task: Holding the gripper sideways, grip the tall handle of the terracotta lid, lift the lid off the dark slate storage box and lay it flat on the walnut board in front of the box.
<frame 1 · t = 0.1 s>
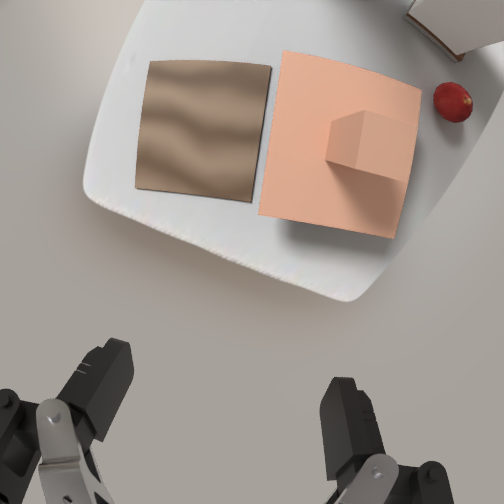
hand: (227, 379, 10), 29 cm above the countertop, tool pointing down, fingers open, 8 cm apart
board: (197, 125, 33), on the countertop
lid: (341, 144, 27), point 6 cm above the countertop, touching storage box
white tall block: (439, 21, 24), on the countertop
pomegranate: (438, 104, 29), on the countertop
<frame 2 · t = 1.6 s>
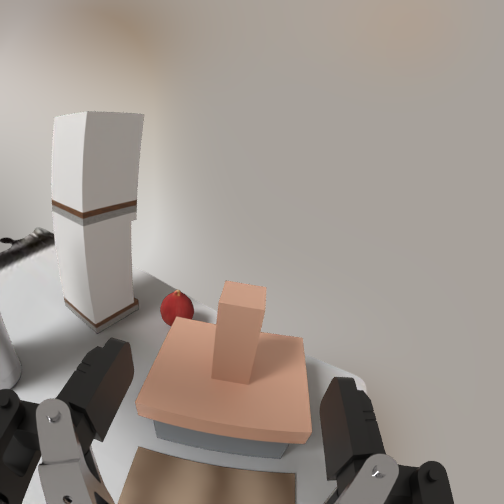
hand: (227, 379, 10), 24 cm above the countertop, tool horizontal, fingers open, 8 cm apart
storage box: (225, 411, 33), on the countertop
lid: (229, 382, 30), point 6 cm above the countertop, touching storage box
white tall block: (101, 308, 48), on the countertop
pomegranate: (177, 328, 48), on the countertop
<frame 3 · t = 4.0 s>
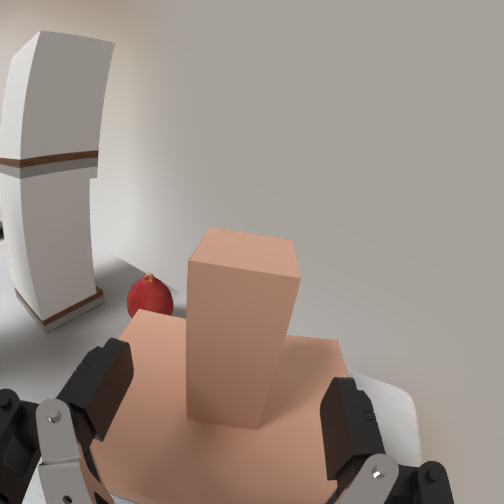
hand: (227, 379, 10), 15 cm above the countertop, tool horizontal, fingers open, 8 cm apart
lid: (222, 420, 16), point 6 cm above the countertop, touching storage box
white tall block: (57, 301, 34), on the countertop
pomegranate: (151, 328, 34), on the countertop
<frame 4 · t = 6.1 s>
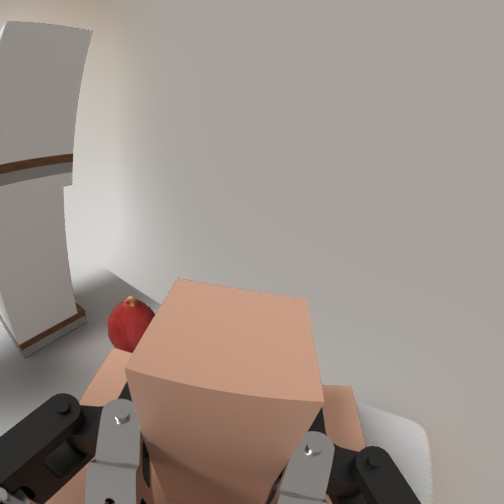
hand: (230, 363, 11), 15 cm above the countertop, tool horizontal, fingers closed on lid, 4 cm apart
lid: (211, 487, 11), point 6 cm above the countertop, touching gripper, storage box
white tall block: (38, 320, 29), on the countertop
pomegranate: (137, 354, 29), on the countertop
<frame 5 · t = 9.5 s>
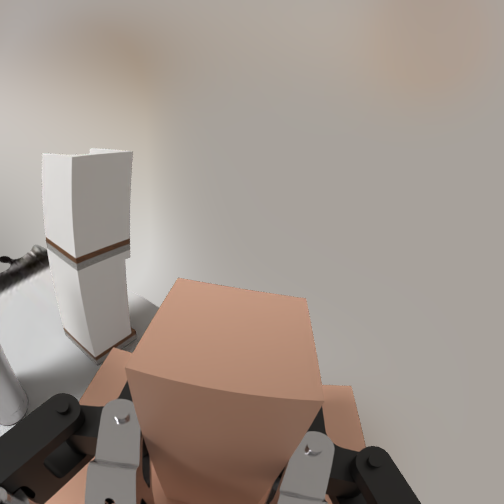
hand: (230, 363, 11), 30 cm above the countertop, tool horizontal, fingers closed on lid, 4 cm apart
lid: (212, 487, 11), point 22 cm above the countertop, touching gripper
white tall block: (100, 337, 48), on the countertop
when the fingers open (10 cm above the countertop, at t = 12.9 s): lid drops 1 cm, resting on board.
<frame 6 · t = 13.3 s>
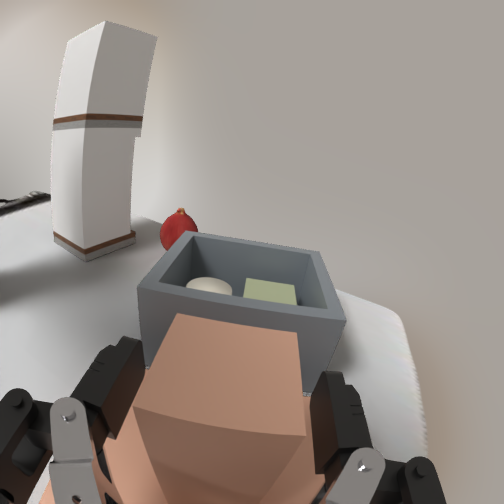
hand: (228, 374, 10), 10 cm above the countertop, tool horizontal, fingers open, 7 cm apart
storage box: (237, 336, 28), on the countertop
lid: (211, 493, 12), resting on board
white tall block: (93, 243, 43), on the countertop
pomegranate: (177, 258, 43), on the countertop
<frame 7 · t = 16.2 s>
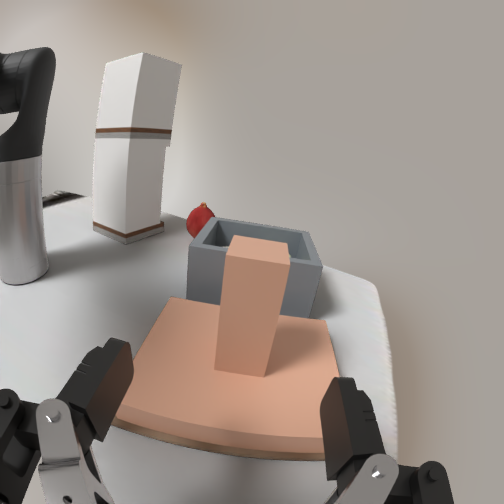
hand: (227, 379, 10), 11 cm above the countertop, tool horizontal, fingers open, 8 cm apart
storage box: (250, 290, 40), on the countertop
board: (237, 379, 24), on the countertop
lid: (238, 376, 24), resting on board
white tall block: (127, 231, 55), on the countertop
pomegranate: (199, 242, 55), on the countertop
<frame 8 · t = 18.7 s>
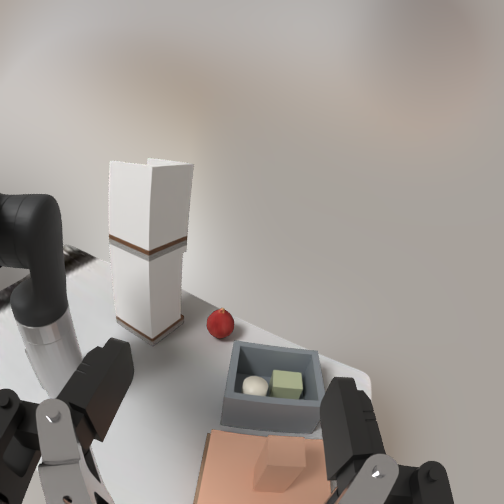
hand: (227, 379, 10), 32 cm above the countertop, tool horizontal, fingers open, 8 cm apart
storage box: (267, 401, 44), on the countertop
lid: (265, 485, 28), resting on board
white tall block: (150, 323, 59), on the countertop
pomegranate: (218, 338, 59), on the countertop
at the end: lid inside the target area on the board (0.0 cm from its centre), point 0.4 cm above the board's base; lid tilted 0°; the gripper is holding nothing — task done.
